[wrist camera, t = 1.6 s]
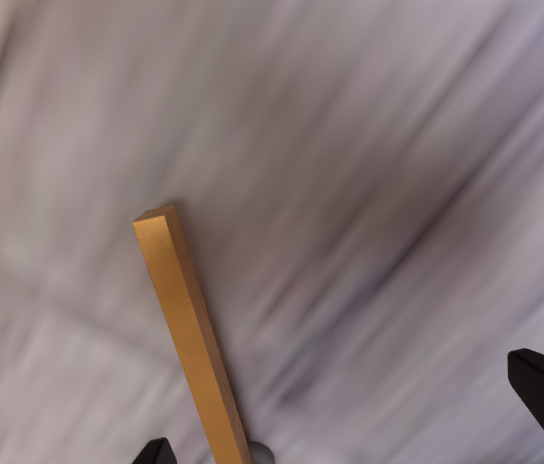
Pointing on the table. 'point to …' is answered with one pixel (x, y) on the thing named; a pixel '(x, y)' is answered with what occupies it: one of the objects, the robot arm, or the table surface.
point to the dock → (260, 453)
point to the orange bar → (192, 331)
